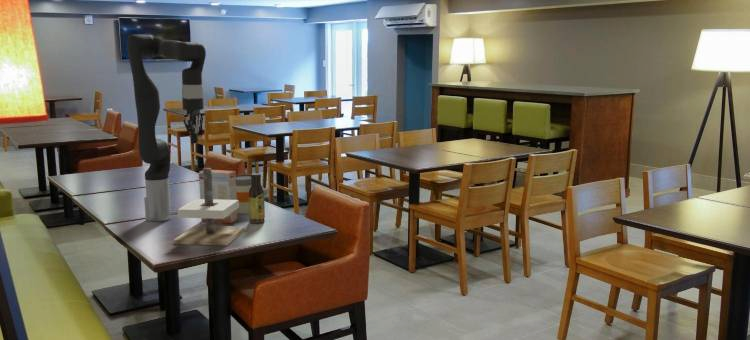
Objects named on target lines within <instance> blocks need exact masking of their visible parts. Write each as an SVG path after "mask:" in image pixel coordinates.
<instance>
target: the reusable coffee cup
mask: <svg viewBox="0 0 750 340" xmlns="http://www.w3.org/2000/svg"><path fill="white" fill-rule="evenodd" d="M251 183H252V180H251V174H247V173H245V174H236V195H237V200H239V208H238V209H237V214H238V213H239V214H247V213H248V214H249V189H250V187H251V186H252V184H251Z"/></svg>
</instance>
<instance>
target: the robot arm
mask: <svg viewBox="0 0 750 340" xmlns="http://www.w3.org/2000/svg"><path fill="white" fill-rule="evenodd" d="M126 51H127V55H128V60H129V65H130V70H131V74H132V82H133V91H134V101H135V109H136V117H137V128H138V153H139V157H140V159H141V161H142V162H144V163H145V164H149V166H148V168H147V170H146V171H144V184H145V197H144V198H143V201H144V213H145V216H144V217H145V221H149V222H165V221H168V220H170V219H172V211H171V210H172V209H171V208H172V207H171V197H170V181H169V180H170V179H169V174H170V171H171V170H170V169H171V152H170V147H169V144H168V143H167V142H166V141H165V140H164V139H162V138H157V137H156V136H157V135H156V124H157V120H158V118H159V114H160V110H161V103H160V101H161V100H160V92H159V89H158V87H157V86H156V84H155V83H154V81H153V79H152V78H151V77H150V76H149V74H148V73H147V71H146V70H145V66H144V60H143V59H149V58H150V59H151V58H155V57H160V56H162V57H164V58H166V59H169V60H176V61H179V62H191V64H190V66H189V67H187V68H184V69H183V70H182V71H181V80H182V81H181V82H182V83H181V84H182V87H181V97H182V98H181V100H182V101H181V103H182V110H183V111H186V114H185V115H186V119H183V124H184V127H185V129H186V131H187V133H189V134H190V143H191V144H198V143H199V131H201V130H202V129H201V128H202V125H203V122H204V116H201V111H202V110H204V107H205V106H204V89H203V80H202V79H203V75H202V74H203V69H204V64H205V61H206V56H207V53H206V52H207V51H206V48H205V46H204V45H203V44H202V42H196V41H195V42H194V41H191V42H190V41H180V40H174V39H173V40H172V39H163V38H160V37H158V36H155V35H151V34H143V33H142V34H141V33H140V34H137V33H136V34H135V33H134V34H133V33H132V34H130V35H129V36H127V41H126Z"/></svg>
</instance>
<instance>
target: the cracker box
mask: <svg viewBox="0 0 750 340" xmlns="http://www.w3.org/2000/svg"><path fill="white" fill-rule="evenodd" d="M211 170H212V190H213V199H219V200H237V195H236V175H237V174H236V170H222V169H211ZM198 180H199V183H198V184H199V199H205V197H204V178H203V170H200V171H198ZM200 219H201V222H206V218H200ZM238 220H239V219H238V213H237V209H236V210H235V211H234V212H232V213H231V214H229V215H228V216H227V217H225V218H224V219H214V223H224V224H232V223H234V222H237V221H238Z"/></svg>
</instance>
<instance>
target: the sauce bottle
mask: <svg viewBox="0 0 750 340" xmlns="http://www.w3.org/2000/svg"><path fill="white" fill-rule="evenodd" d="M250 175H251V180H252V183H251V184H252V186H251V187H250V189H249V213H248V216H249V217H248V218H249V222H250V223H251V224H260V223H264V222H265V217H266V215H265V214H266V213H265V211H266V210H265V207H266V206H265V192H264V188H263V187H262V182H261V181H262V180H261V179H262V173H257V172H256V173H251V174H250Z"/></svg>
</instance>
